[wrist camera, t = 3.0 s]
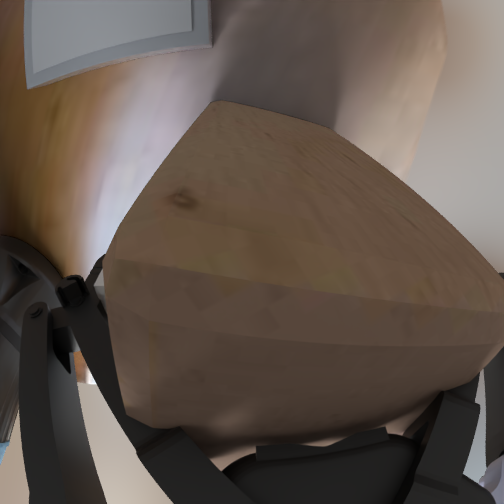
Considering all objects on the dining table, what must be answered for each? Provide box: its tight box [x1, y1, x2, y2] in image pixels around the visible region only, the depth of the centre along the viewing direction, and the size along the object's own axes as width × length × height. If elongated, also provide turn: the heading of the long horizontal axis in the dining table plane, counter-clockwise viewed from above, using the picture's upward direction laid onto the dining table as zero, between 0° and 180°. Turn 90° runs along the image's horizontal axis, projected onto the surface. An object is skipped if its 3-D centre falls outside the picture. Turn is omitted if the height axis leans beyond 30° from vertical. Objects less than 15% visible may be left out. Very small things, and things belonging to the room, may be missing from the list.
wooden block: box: [102, 100, 504, 471], centre depth 15 cm, size 10×10×20 cm
